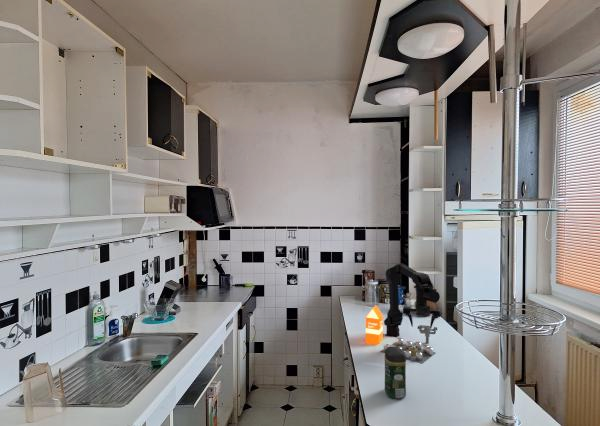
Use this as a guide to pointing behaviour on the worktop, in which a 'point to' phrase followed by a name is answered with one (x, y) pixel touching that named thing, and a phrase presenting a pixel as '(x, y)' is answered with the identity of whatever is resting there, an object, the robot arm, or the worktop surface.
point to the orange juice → (374, 326)
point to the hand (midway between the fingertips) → (421, 327)
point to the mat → (413, 357)
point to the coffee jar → (395, 373)
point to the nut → (413, 350)
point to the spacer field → (426, 348)
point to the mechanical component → (427, 331)
